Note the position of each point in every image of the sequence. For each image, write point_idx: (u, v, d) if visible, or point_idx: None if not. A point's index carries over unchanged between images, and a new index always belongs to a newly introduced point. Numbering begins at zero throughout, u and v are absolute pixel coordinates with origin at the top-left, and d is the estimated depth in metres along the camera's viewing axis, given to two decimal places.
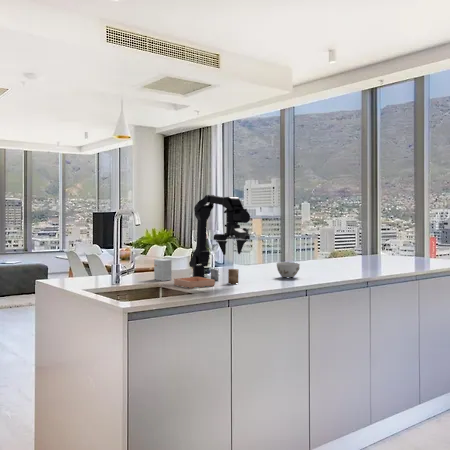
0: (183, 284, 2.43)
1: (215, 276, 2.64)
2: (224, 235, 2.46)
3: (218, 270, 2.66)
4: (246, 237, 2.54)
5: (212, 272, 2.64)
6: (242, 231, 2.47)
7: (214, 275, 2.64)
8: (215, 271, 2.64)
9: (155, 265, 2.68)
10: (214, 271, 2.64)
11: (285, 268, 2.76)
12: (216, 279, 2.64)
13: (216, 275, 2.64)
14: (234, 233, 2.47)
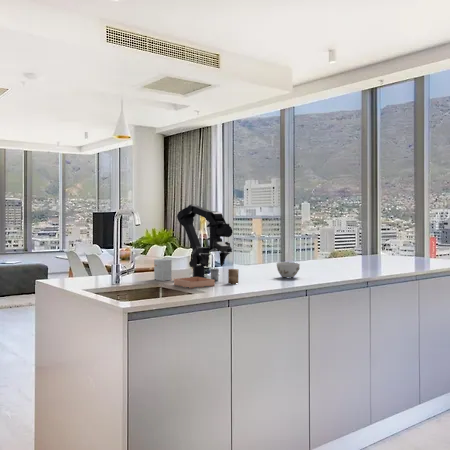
0: (183, 284, 2.43)
1: (215, 276, 2.64)
2: (207, 248, 2.59)
3: (218, 270, 2.66)
4: (228, 250, 2.67)
5: (212, 272, 2.64)
6: (224, 245, 2.60)
7: (214, 275, 2.64)
8: (215, 271, 2.64)
9: (155, 265, 2.68)
10: (214, 271, 2.64)
11: (285, 268, 2.76)
12: (216, 279, 2.64)
13: (216, 275, 2.64)
14: (216, 246, 2.60)
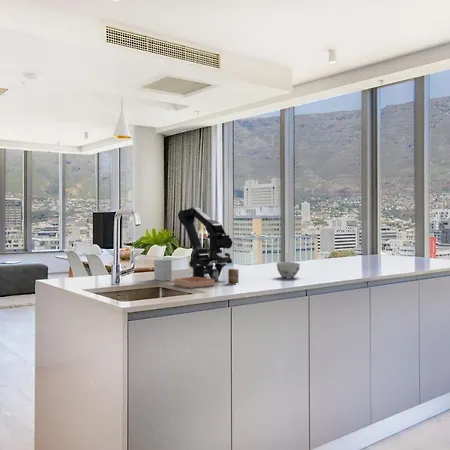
0: (183, 284, 2.43)
1: (215, 276, 2.64)
2: (207, 260, 2.59)
3: (218, 270, 2.66)
4: (228, 261, 2.67)
5: (212, 272, 2.64)
6: (224, 256, 2.60)
7: (214, 275, 2.64)
8: (215, 271, 2.64)
9: (155, 265, 2.68)
10: (214, 271, 2.64)
11: (285, 268, 2.76)
12: (216, 279, 2.64)
13: (216, 275, 2.64)
14: (216, 258, 2.60)
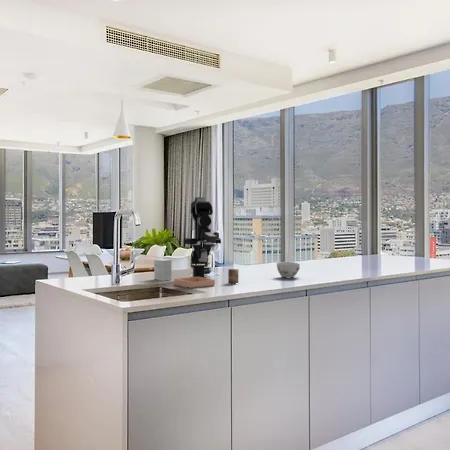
0: (183, 284, 2.43)
1: (203, 256, 2.52)
2: (195, 239, 2.48)
3: None
4: (217, 241, 2.56)
5: None
6: (213, 235, 2.49)
7: (202, 255, 2.52)
8: (204, 251, 2.52)
9: (155, 265, 2.68)
10: (202, 251, 2.52)
11: (285, 268, 2.76)
12: (205, 260, 2.53)
13: (205, 255, 2.53)
14: (205, 237, 2.49)
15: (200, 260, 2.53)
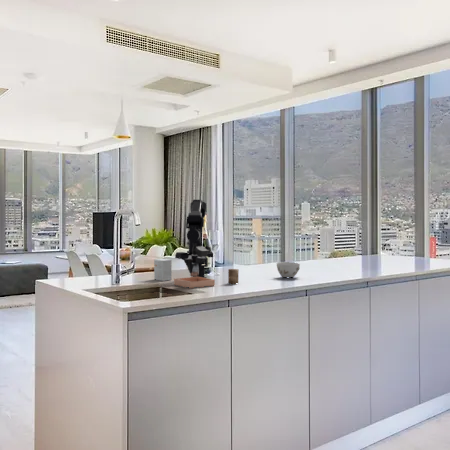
0: (183, 284, 2.43)
1: (195, 271, 2.46)
2: (185, 253, 2.42)
3: (198, 264, 2.48)
4: (209, 255, 2.50)
5: (192, 266, 2.47)
6: (204, 249, 2.43)
7: (194, 269, 2.46)
8: (195, 265, 2.46)
9: (155, 265, 2.68)
10: (194, 265, 2.46)
11: (285, 268, 2.76)
12: (196, 274, 2.47)
13: (196, 270, 2.47)
14: (196, 251, 2.43)
15: (191, 274, 2.47)
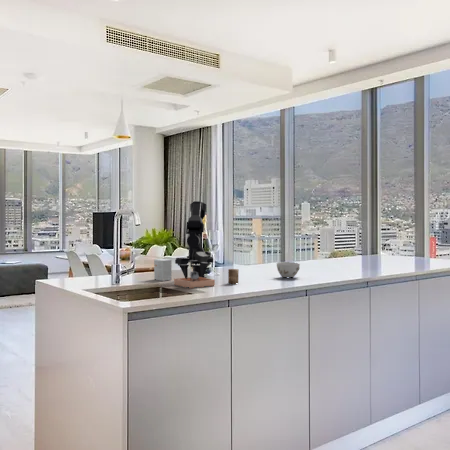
0: (183, 284, 2.43)
1: (194, 279, 2.46)
2: (185, 259, 2.42)
3: (198, 273, 2.48)
4: (209, 260, 2.50)
5: (192, 275, 2.47)
6: (204, 255, 2.43)
7: (194, 278, 2.46)
8: (195, 274, 2.46)
9: (155, 265, 2.68)
10: (194, 274, 2.46)
11: (285, 268, 2.76)
12: None
13: (196, 278, 2.47)
14: (196, 257, 2.43)
15: None
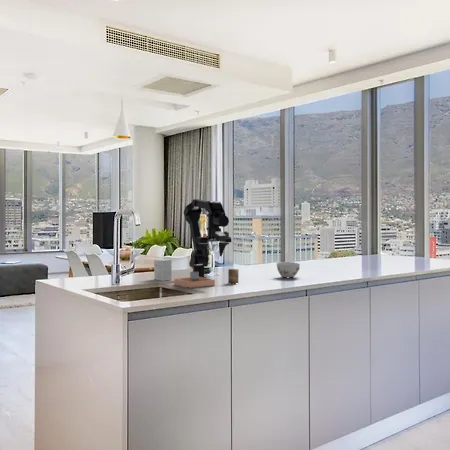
0: (183, 284, 2.43)
1: (194, 279, 2.46)
2: (205, 238, 2.55)
3: (198, 273, 2.48)
4: (227, 240, 2.62)
5: (191, 275, 2.47)
6: (222, 234, 2.55)
7: (194, 278, 2.46)
8: (195, 274, 2.47)
9: (155, 265, 2.68)
10: (194, 274, 2.46)
11: (285, 268, 2.76)
12: None
13: (196, 278, 2.47)
14: (214, 236, 2.55)
15: None
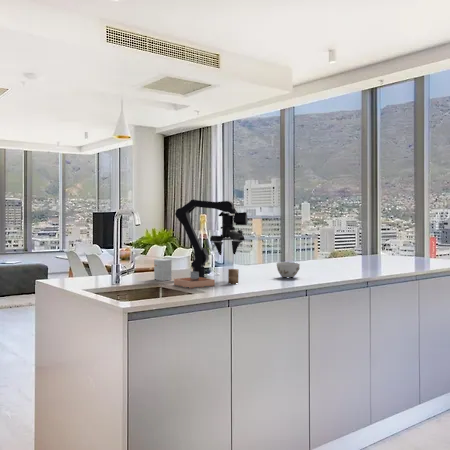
0: (183, 284, 2.43)
1: (194, 279, 2.47)
2: (220, 236, 2.65)
3: (198, 273, 2.48)
4: (241, 238, 2.73)
5: (192, 275, 2.47)
6: (237, 233, 2.66)
7: (194, 277, 2.47)
8: (195, 274, 2.47)
9: (155, 265, 2.68)
10: (194, 274, 2.47)
11: (285, 268, 2.76)
12: None
13: (196, 278, 2.47)
14: (229, 235, 2.66)
15: None
